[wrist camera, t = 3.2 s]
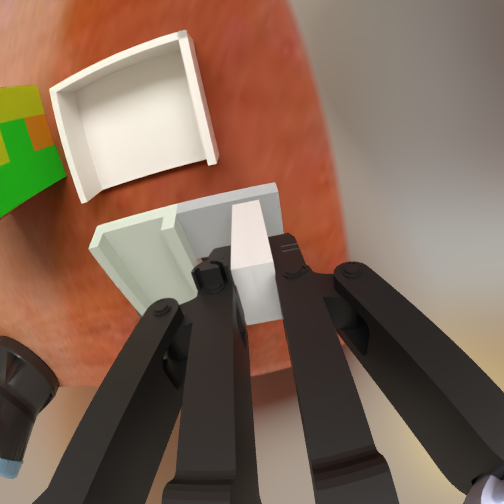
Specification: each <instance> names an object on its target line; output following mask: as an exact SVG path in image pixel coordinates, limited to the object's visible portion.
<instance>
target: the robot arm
mask: <svg viewBox="0 0 504 504" xmlns="http://www.w3.org/2000/svg"><path fill="white" fill-rule="evenodd" d="M191 275H192V277H193V280H194V283H195V285H196V288H197V291H198V292H197V297H195V298H194V299H192V300H190V301H188V302H185V303H182V304H180V305H179V303H178V301H177V300H175V299H174V298H163V299H160V300H157V301H156V302H154V303H153V304H151V305H150V306H149V307H148V308H147V310H146V311H145V313H144V315H143V316H142V318H141V319H140V321H139V322H138V324H137V326H136V327H135V329H134V330H133V332H132V334H131V335H130V337H129V338H128V340H127V342H126V343H125V345H124V346H123V348H122V350H121V351H120V353H119V355H118V356H117V358H116V360H115V361H114V363H113V365H112V366H111V368H110V370H109V372H108V373H107V375H106V377H105V378H104V380H103V382H102V384H101V385H100V387H99V389H98V391H97V393H96V394H95V396H94V398H93V400H92V401H91V403H90V405H89V407H88V409H87V410H86V412H85V414H84V416H83V418H82V420H81V421H80V423H79V426H78V427H77V429H76V431H75V433H74V435H73V437H72V439H71V441H70V443H69V445H68V447H67V449H66V451H65V453H64V455H63V457H62V459H61V461H60V463H59V465H58V467H57V469H56V471H55V473H54V476H53V478H52V480H51V482H50V484H49V486H48V488H47V489H46V490H45V491H44V492H43V493H42V494H41V495H40V496H39V497H38V498H37V499H36V500H35V501H34V502H33V503H32V504H145V502H146V500H147V497H148V494H149V491H150V489H151V486H152V483H153V481H154V478H155V475H156V473H157V470H158V467H159V465H160V462H161V459H162V457H163V454H164V451H165V449H166V446H167V443H168V441H169V438H170V435H171V433H172V430H173V428H174V425H175V422H176V419H177V417H178V414H179V411H180V409H181V407H182V409H181V419H180V429H179V439H178V451H177V463H176V474H175V476H174V478H173V480H171V481H170V482H168V483H167V484H166V486H165V488H164V490H163V495H162V504H262V503H261V500H260V496H259V487H258V474H257V461H256V449H255V436H254V435H255V434H254V421H253V407H252V392H251V378H250V362H249V347H248V334H247V331H246V327H245V321H246V325H252V324H257V323H263V322H268V321H273V320H279V319H283V323H284V329H285V335H286V340H287V344H288V349H289V355H290V360H291V365H292V370H293V376H294V381H295V386H296V392H297V397H298V402H299V408H300V414H301V419H302V424H303V430H304V436H305V442H306V448H307V453H308V459H309V465H310V471H311V477H312V483H313V489H314V496H315V503H316V504H399V501H398V497H397V493H396V490H395V486H394V483H393V479H392V476H391V472H390V469H389V466H388V464H387V461H386V460H385V458H384V457H383V455H381V454H380V453H379V452H378V451H377V449H376V447H375V444H374V441H373V438H372V435H371V431H370V428H369V425H368V422H367V419H366V416H365V413H364V410H363V407H362V403H361V400H360V398H359V394H358V392H357V389H356V386H355V383H354V380H353V377H352V374H351V371H350V369H349V366H348V363H347V360H346V357H345V355H344V352H343V349H342V346H341V344H340V341H339V338H338V336H337V333H338V334H339V336H340V337H341V338H342V340H343V341H344V342H345V343H346V345H347V346H348V347H349V349H350V350H351V351H352V352H353V354H354V355H355V356H356V358H357V359H358V360H359V362H360V363H361V364H362V366H363V367H364V368H365V370H366V371H367V372H368V373H369V375H370V376H371V377H372V379H373V380H374V381H375V382H376V384H377V385H378V387H379V388H380V389H381V391H382V392H383V393H384V394H385V396H386V397H387V399H388V400H389V401H390V403H391V404H392V405H393V406H394V408H395V409H396V411H397V412H398V413H399V415H400V416H401V417H402V419H403V420H404V421H405V423H406V424H407V425H408V427H409V428H410V429H411V431H412V432H413V433H414V435H415V436H416V437H417V439H418V440H419V442H420V443H421V444H422V446H423V447H424V448H425V450H426V451H427V453H428V454H429V455H430V457H431V458H432V459H433V461H434V462H435V464H436V465H437V466H438V468H439V469H440V471H441V472H442V473H443V474H444V476H445V477H446V478H447V479H448V480H449V482H451V484H452V485H454V486H455V487H456V488H457V489H458V490H459V491H461V492H462V493H464V494H465V495H467V496H466V498H465V501H464V503H463V504H504V393H503V391H502V390H501V389H500V388H499V387H498V386H497V385H496V384H495V383H494V382H493V381H492V380H491V379H490V377H489V376H487V374H486V373H485V372H484V371H483V370H482V369H481V368H480V367H479V366H478V365H477V364H476V363H475V362H474V361H473V360H472V359H471V358H469V356H468V355H467V354H466V353H465V352H464V351H463V350H462V349H461V348H459V346H457V345H456V344H455V343H454V342H453V341H452V340H451V339H450V338H449V337H448V336H447V335H446V334H445V333H444V332H443V331H441V330H440V329H439V328H438V327H437V326H436V325H435V324H434V323H433V322H432V321H431V320H429V318H427V317H426V316H425V315H424V314H423V313H422V312H421V311H420V310H418V309H417V308H416V307H415V306H414V305H413V304H412V303H411V302H409V301H408V300H407V299H406V298H405V297H404V296H403V295H401V294H400V293H399V292H398V291H397V290H396V289H394V288H393V287H392V286H391V285H390V284H388V283H387V282H386V281H385V280H384V279H382V278H381V277H380V276H379V275H378V274H377V273H375V272H374V271H373V270H372V269H370V268H369V267H368V266H367V265H365V264H363V263H359V262H346V263H342V264H340V265H339V266H337V267H336V268H335V270H334V274H320V273H315V272H313V271H312V270H311V268H310V267H309V266H308V265H306V264H305V261H304V259H303V256H302V254H301V251H300V249H299V246H298V244H297V242H296V239H295V237H294V236H292V235H291V234H289V233H285V234H280V235H275V236H270V237H268V236H267V232H266V228H265V223H264V219H263V215H262V210H261V206H260V202H259V200H254V201H249V202H245V203H240V204H235V205H232V232H231V245H229V246H224V247H219V248H214V249H213V251H212V252H211V253H210V254H209V259H208V260H207V261H204V262H202V263H200V264H198V265H197V266H195V267H194V268H193V270H192V271H191ZM335 329H336V330H335ZM336 332H337V333H336ZM58 387H59V384H58V381H57V379H56V377H55V375H54V374H53V372H52V371H51V370H50V368H49V367H48V366H47V365H46V364H45V363H44V362H43V361H42V360H41V359H40V358H39V357H38V356H37V355H35V354H34V353H33V352H32V351H31V350H29V349H28V348H27V347H25V346H24V345H22V344H21V343H19V342H17V341H15V340H13V339H11V338H9V337H6V336H0V475H1V476H3V477H6V478H9V479H14V478H16V477H17V475H18V473H19V470H20V467H21V465H22V464H23V458H24V454H25V451H26V447H27V444H28V441H29V438H30V435H31V432H32V429H33V426H34V423H35V420H36V417H37V416H38V414H39V413H40V412H41V411H42V410H43V409H44V408H45V407H46V406H47V405H48V404H49V402H50V401H51V400H52V399H53V398H54V397H55V395H56V392H57V390H58Z"/></svg>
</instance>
